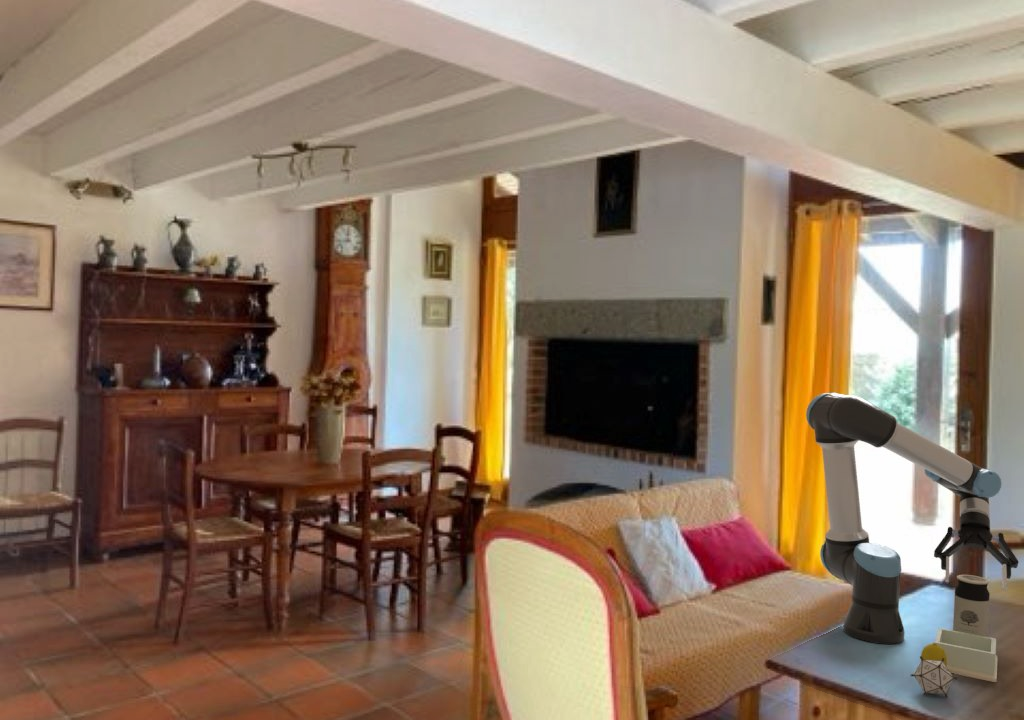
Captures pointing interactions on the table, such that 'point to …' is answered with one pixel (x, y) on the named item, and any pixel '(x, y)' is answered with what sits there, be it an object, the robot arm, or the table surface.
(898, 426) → the robot arm
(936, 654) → the lemon
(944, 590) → the table surface
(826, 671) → the table surface
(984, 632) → the travel mug
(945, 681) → the game die
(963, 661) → the holder
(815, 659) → the table surface
